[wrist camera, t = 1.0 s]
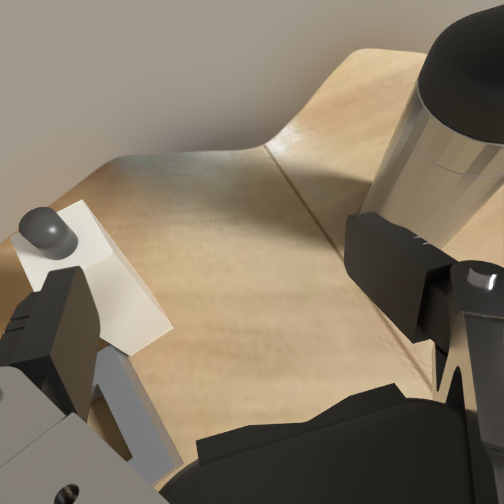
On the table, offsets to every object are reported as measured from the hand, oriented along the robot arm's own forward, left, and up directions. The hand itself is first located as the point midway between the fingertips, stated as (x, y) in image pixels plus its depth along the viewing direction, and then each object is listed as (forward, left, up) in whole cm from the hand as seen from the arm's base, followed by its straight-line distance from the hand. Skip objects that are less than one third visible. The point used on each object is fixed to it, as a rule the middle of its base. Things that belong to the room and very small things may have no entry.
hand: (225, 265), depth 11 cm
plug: (+2, -12, -24) cm, 27 cm away
